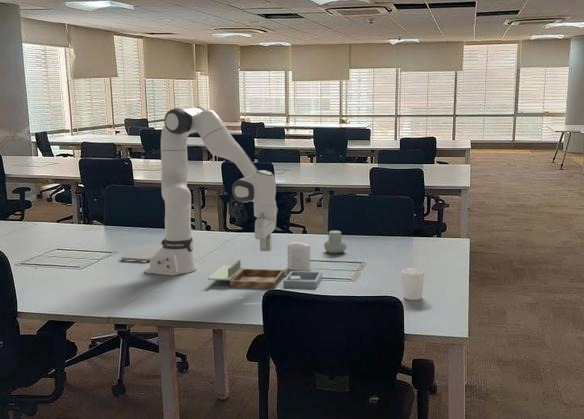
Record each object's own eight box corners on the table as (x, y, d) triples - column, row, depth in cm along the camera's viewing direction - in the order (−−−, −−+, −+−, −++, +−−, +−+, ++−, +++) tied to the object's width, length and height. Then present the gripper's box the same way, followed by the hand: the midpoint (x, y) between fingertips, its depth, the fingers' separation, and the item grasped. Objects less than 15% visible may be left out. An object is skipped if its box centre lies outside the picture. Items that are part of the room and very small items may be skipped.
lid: (207, 279, 254) (207, 269, 253) (222, 266, 272) (222, 257, 271) (229, 280, 252) (229, 270, 251) (243, 267, 270) (242, 258, 269)
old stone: (290, 286, 252) (290, 278, 251) (290, 283, 256) (289, 276, 255) (300, 285, 252) (300, 278, 251) (300, 282, 256) (299, 275, 255)
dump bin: (283, 288, 251) (283, 280, 251) (291, 277, 265) (290, 270, 264) (316, 289, 249) (316, 281, 248) (322, 279, 262) (322, 271, 262)
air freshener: (348, 253, 302) (348, 233, 300) (332, 255, 299) (332, 234, 297) (338, 248, 312) (337, 228, 310) (322, 250, 309) (322, 230, 307)
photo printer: (312, 270, 276) (311, 242, 273) (307, 272, 272) (306, 244, 270) (291, 267, 281) (290, 240, 278) (286, 270, 277) (285, 242, 275)
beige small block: (260, 251, 255) (260, 238, 254) (261, 248, 258) (261, 236, 258) (270, 251, 254) (270, 238, 253) (271, 248, 258) (271, 236, 257)
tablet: (175, 250, 319) (175, 245, 318) (150, 263, 294) (149, 259, 294) (146, 248, 323) (146, 244, 323) (118, 262, 299) (118, 257, 299)
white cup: (420, 293, 240) (421, 268, 238) (425, 300, 232) (426, 273, 231) (400, 294, 240) (400, 268, 238) (404, 301, 232) (404, 274, 230)
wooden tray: (230, 288, 253) (229, 280, 252) (242, 275, 270) (242, 268, 270) (274, 290, 249) (274, 282, 249) (284, 276, 266) (284, 270, 266)
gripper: (266, 216, 243) (267, 252, 245) (278, 207, 263) (279, 240, 265) (250, 216, 244) (251, 251, 247) (263, 207, 264) (264, 239, 266)
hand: (265, 245), depth 256 cm, fingers closed on beige small block, 4 cm apart
